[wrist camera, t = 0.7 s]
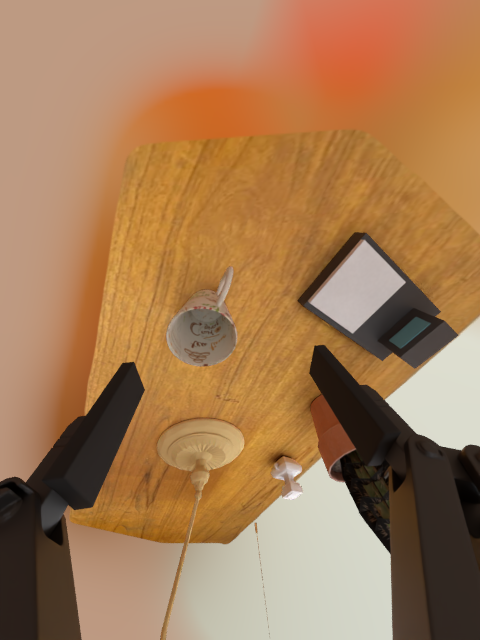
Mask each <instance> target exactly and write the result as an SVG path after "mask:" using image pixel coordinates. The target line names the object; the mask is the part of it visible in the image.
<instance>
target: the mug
mask: <svg viewBox="0 0 480 640" xmlns="http://www.w3.org/2000/svg"><path fill="white" fill-rule="evenodd" d="M232 277H233V267H232V266H230V267H228V268H227V269H226V271H225V273H224V275H223V276H222V278H221V280H220V283H219V286H218V289H217V292H215V291H212V290H201V291H198V292H196V293H195V294H193V295H192V296H191V298H190V299H189V300H188V301H187V302H186V303H185V304H184V306H183V307H182V308H181V309H180V310H179V311H178V312H177V314H176V315H175V316H174V317H173V318H172V320H171V321H170V323H169V325H168V328H167V333H166V340H167V344H168V346H169V348H170V350H171V352H172V353H173V354H174V355H175V356H176V357H177V358H178V359H180V360H181V361H183V362H185V363H187V364H190V365H194V366H211V365H215V364H218V363H220V362H222V361H224V360H225V359H226V358H228V357H229V356H230V355H231V353H232V352H233V351H234V349H235V347H236V343H237V331H236V327H235V324H234V322H233V320H232V318H231V315H230V313H229V311H228V309H227V306H226V304H225V302H224V299H225V297H226V295H227V293H228V290H229V288H230V284H231V281H232ZM221 290H222V291H221ZM220 292H221V293H220ZM219 294H220V295H219Z"/></svg>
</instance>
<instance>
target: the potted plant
mask: <svg viewBox="0 0 480 640" xmlns="http://www.w3.org/2000/svg"><path fill="white" fill-rule="evenodd" d="M310 410H311V413H312V417H313V421H314V424H315V428H316V432H317V435H318V439H319V442H318V448H319V451H320V454H321V456H322V459H323V461H324V463H325V466H326V468H327V471H328V474H329V476H330V478H332V479H334V480H335V481H339V482H345V483H346V485H347V487H348V489H349V492H350V494H351V496H352V498H353V500H354V502H355V504H356V506H357V508H358V510H359V513H360V515H361V516H362V517H363V519H364V520H365V522H366V523H367V524H368V525H369V527H370V528H371V529H372V531H373V532H374V533H375V534H376V536H377V537H378V538H379V540H380V541H381V542H382V543H383V545H384V546H385V547H386V549H387V550H388V551H389V553H390V554H391V546H390V506H389V476H388V477H387V478H386V479H385V478H384V474H385V472H386V470H387V469H388V467H389V466H390V464H389V463H388V462H387V460H386V459H384V461H383V462H382V464H381V465H377V466H370V467H367V466H366V465H365V463H364V461H363V460H362V458H361V457H360V455H359V453H358V452H357V450H356V448H355V447H354V445H353V444H352V442H351V440H350V439H349V437H348V435H347V434H346V432H345V431H344V429H343V427H342V426H341V424H340V422H339V421H338V419H337V418H336V416H335V414H334V413H333V411H332V409H331V408H330V406H329V404H328V403H327V401H326V400H325V398H324V396H323V395H320V396H319V397H317V398H316V399H315V400H314V401H313V402H312V404H311V408H310Z"/></svg>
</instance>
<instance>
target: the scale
mask: <svg viewBox="0 0 480 640" xmlns="http://www.w3.org/2000/svg"><path fill="white" fill-rule="evenodd" d="M298 301H299V302H300V303H301V304H302V305H303V306H304V307H305V308H307V309H308V310H310V311H311V312H313V313H314V314H315V315H317V316H318V317H320V318H321V319H323V320H324V321H326V322H327V323H328V324H330V325H331V326H333V327H334V328H336V329H337V330H339V331H340V332H341V333H343V334H344V335H346V336H347V337H349V338H350V339H352V340H353V341H354V342H356V343H357V344H359V345H360V346H362V347H363V348H365V349H366V350H367V351H369V352H370V353H372V354H373V355H375V356H376V357H377V358H379V359H380V360H382V361H383V360H384V359H385V358H386V357H388V356H389V355H390V354H391V353H392V352H393V353H394V354H396V355H397V356H398V357H400V358H401V359H402V360H404V361H405V362H407V363H408V364H409V365H411V366H412V367H413V368H417V367H418V366H419V365H420V364H422V363H423V362H424V361H426V360H427V359H428V358H430V357H431V356H432V355H433V354H435V353H436V352H437V351H439V350H440V349H441V348H443V347H444V346H445V345H446V344H448V343H449V342H450V341H452V340H453V339H454V338H456V337H457V336H458V334H457V333H456V332H455V331H454V330H453V329H452V328H451V327H450V326H449V325H448V324H447V323H446V322H445V321H443V320H441V319H439V318H436V317H435V316H436V315H438V314H439V313H440V312H441V311H440V310H439V309H438V308H437V307H436V306H435V305H434V304H433V303H432V302H431V301H430V300H429V299H428V298H427V297H426V296H425V294H424V293H423V292H422V291H421V290H420V289H419V288H418V287H417V286H416V285H415V284H414V283H413V282H412V281H411V280H410V279H409V278H408V276H407V275H406V274H405V273H404V272H403V271H402V270H401V269H400V268H399V267H398V266H397V265H396V264H395V263H394V262H393V261H392V260H391V259H390V257H389V256H388V255H387V254H386V253H385V252H384V251H383V250H382V249H381V248H380V247H379V246H378V245H377V244H376V243H375V242H374V241H373V239H372V238H371V237H370V236H369V235H368V234H367V233H359V232H355V233H354V234H353V235H352V237H351V238H350V239H349V240H348V241H347V243H346V244H345V245H344V246H343V247H342V249H341V250H340V251H339V252H338V253H337V254H336V256H335V257H334V258H333V259H332V260H331V262H330V263H329V264H328V265H327V266H326V268H325V269H324V270H323V271H322V272H321V274H320V275H319V276H318V277H317V278H316V280H315V281H314V282H313V283H312V284H311V285H310V287H309V288H308V289H307V290H306V291H305V293H304V294H303V295H302V296H301V297H300V299H299V300H298Z"/></svg>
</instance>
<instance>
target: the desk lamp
mask: <svg viewBox="0 0 480 640" xmlns="http://www.w3.org/2000/svg"><path fill="white" fill-rule="evenodd" d="M243 446H244V437H243V435H242V433H241V431H240V430H239V429H238V428H237V427H235V426H234V425H233V424H230V423H228V422H226V421H223V420H219V419H212V418H198V419H191V420H186V421H183V422H180V423H177V424H175V425H173V426H171V427H170V428H168V429H167V430H166V431H165V432H164V433H163V434H162V435H161V436H160V438H159V440H158V443H157V451H158V454H159V456H160V457H161V458H162V460H164V461H165V462H166V463H167V464H169V465H171V466H174V467H176V468H178V469H180V470H187V471H192V473H191V475H190V479H191V483H192V484H194V487H195V490H196V493H195V498H196V500H195V504H194V507H193V511H192V515H191V519H190V523H189V527H188V531H187V534H186V538H185V542H184V546H183V550H182V554H181V558H180V562H179V565H178V569H177V573H176V577H175V581H174V585H173V589H172V593H171V596H170V600H169V604H168V608H167V612H166V616H165V620H164V623H163V627H162V632H161V638H160V640H166V633H167V627H168V623H169V618H170V615H171V610H172V606H173V602H174V598H175V594H176V590H177V586H178V582H179V578H180V574H181V570H182V566H183V562H184V558H185V554H186V550H187V546H188V542H189V538H190V534H191V530H192V526H193V522H194V518H195V514H196V510H197V506H198V502H199V499H200V498H201V497H202V492H201V491H202V489H203V487H204V484H205V483H207V481H208V478H209V475H210V474H209V472H208V471H209V470H211V469H215V468H220V467H222V466H224V465H226V464H228V463H230V462H231V461H232V460H234V459H235V458H236V457H237V456H238V455H239V454H240V453H241V451H242V450H243ZM255 530H256V533H257V523H255Z"/></svg>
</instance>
